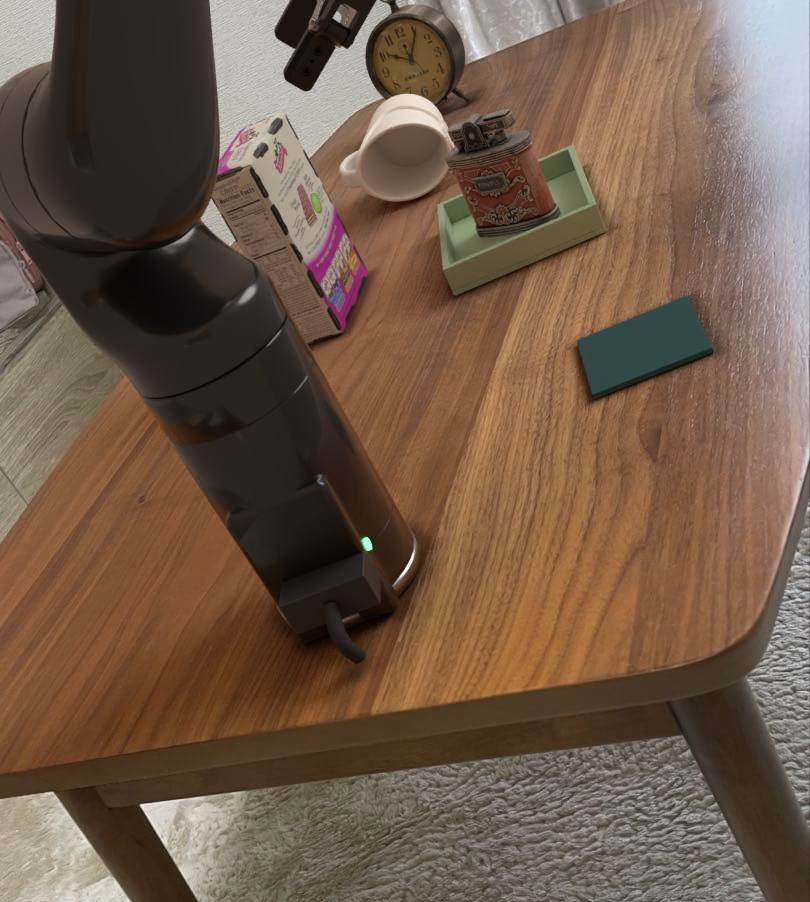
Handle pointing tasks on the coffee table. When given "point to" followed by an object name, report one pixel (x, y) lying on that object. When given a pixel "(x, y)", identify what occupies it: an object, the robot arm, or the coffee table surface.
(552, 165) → the tray
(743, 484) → the coffee table surface
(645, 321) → the mat
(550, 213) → the lighter
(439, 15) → the alarm clock
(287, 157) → the candy bar box
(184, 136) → the robot arm
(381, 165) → the mug
